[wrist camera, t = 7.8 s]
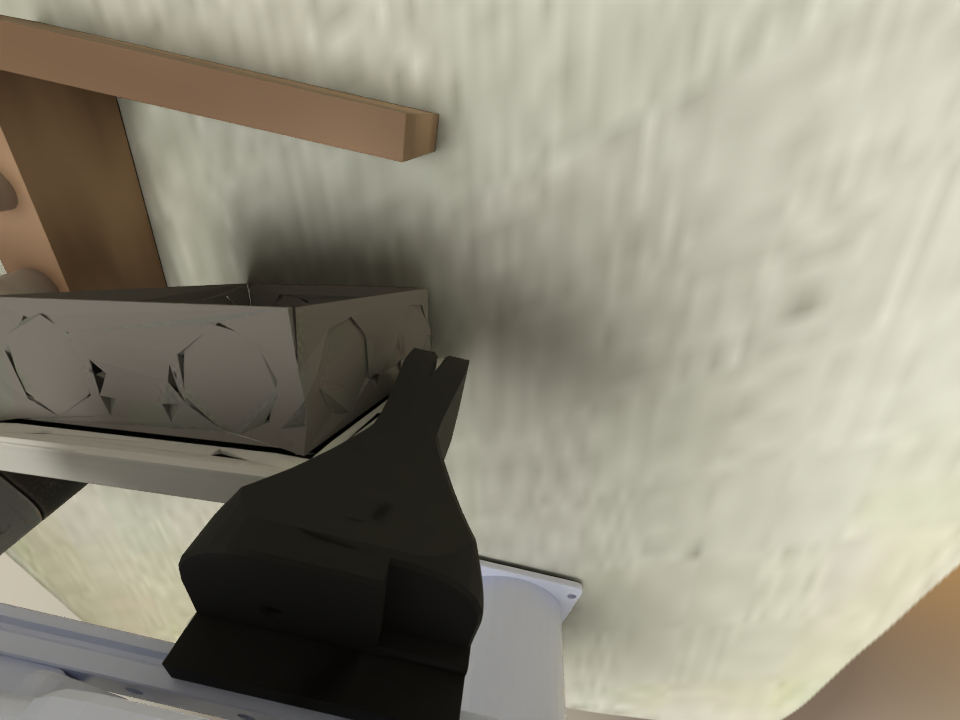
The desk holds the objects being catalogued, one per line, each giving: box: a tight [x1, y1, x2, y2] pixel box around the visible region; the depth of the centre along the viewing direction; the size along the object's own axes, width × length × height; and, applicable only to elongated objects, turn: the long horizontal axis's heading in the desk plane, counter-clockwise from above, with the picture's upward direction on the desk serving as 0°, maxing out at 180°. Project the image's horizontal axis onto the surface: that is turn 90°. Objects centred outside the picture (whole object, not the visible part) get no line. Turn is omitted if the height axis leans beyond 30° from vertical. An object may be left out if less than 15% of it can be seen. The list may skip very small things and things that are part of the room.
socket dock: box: [0, 15, 439, 295], centre depth 13 cm, size 14×12×6 cm
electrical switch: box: [0, 284, 444, 503], centre depth 12 cm, size 9×5×9 cm, turn 92°
